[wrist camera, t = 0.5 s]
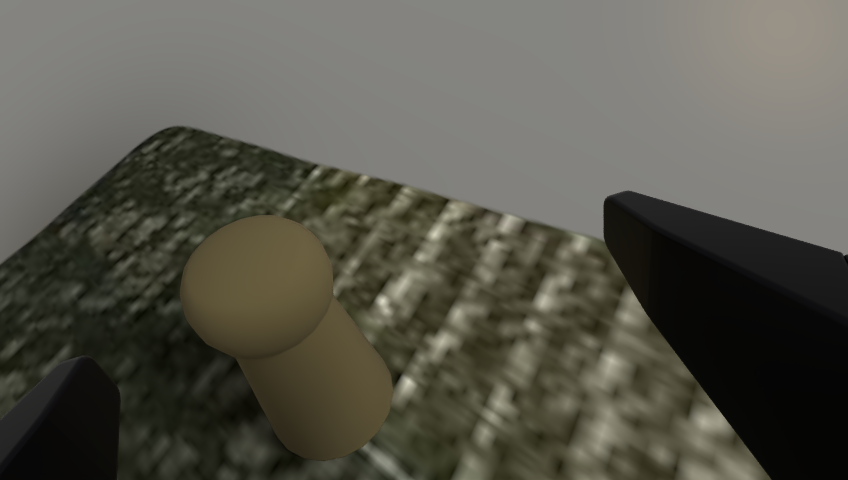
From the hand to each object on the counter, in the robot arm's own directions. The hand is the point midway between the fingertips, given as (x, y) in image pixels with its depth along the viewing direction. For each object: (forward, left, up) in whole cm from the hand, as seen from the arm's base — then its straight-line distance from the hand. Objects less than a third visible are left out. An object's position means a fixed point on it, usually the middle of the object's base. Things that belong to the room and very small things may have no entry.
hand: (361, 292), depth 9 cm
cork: (+6, +6, -16) cm, 19 cm away
